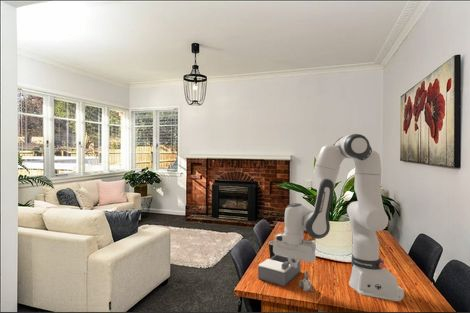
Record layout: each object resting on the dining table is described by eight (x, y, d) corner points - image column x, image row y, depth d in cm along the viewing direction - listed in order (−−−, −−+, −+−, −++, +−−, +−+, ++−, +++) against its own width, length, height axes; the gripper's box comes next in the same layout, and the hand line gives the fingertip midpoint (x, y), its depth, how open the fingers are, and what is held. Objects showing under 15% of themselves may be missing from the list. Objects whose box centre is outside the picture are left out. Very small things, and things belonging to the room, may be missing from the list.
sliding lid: (292, 265, 136) (292, 260, 136) (284, 273, 128) (284, 267, 128) (267, 259, 144) (267, 254, 144) (258, 266, 136) (258, 261, 136)
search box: (300, 271, 145) (300, 260, 145) (284, 286, 128) (284, 273, 128) (276, 265, 153) (276, 254, 153) (258, 278, 136) (258, 266, 136)
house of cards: (291, 281, 134) (291, 265, 134) (310, 283, 132) (310, 267, 132) (292, 290, 125) (292, 273, 125) (312, 292, 124) (312, 275, 124)
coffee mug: (266, 261, 158) (266, 244, 158) (271, 256, 166) (271, 239, 166) (285, 265, 153) (285, 247, 153) (290, 260, 161) (290, 242, 161)
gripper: (317, 240, 127) (317, 270, 128) (277, 232, 139) (277, 260, 139) (313, 243, 122) (312, 274, 122) (271, 235, 134) (271, 264, 134)
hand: (293, 267), depth 131 cm, fingers closed
